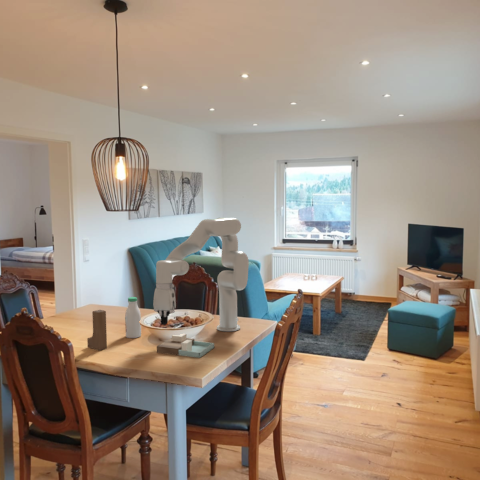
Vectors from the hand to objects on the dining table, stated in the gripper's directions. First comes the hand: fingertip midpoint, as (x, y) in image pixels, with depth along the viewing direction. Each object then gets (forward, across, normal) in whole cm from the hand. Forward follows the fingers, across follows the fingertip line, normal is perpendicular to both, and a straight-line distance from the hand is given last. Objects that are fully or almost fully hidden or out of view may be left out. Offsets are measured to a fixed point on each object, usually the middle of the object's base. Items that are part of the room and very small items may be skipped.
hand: (164, 324), depth 219 cm
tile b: (+7, -15, +8) cm, 18 cm away
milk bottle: (+10, +22, -7) cm, 25 cm away
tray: (+10, -19, +3) cm, 22 cm away
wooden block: (+11, +27, +15) cm, 33 cm away
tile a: (+7, -8, -1) cm, 10 cm away
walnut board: (+10, -8, +3) cm, 13 cm away
